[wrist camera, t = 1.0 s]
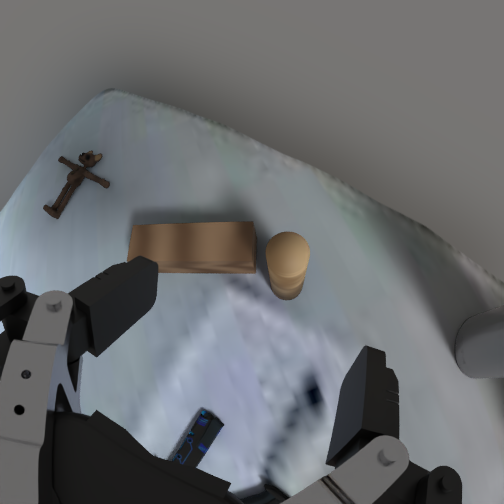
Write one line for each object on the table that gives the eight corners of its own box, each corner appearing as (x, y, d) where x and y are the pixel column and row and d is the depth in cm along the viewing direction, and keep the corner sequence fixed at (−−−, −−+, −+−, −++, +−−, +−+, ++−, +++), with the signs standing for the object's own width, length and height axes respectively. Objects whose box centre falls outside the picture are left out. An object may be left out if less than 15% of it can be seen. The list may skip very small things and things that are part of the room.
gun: (182, 376, 37) (114, 437, 34) (174, 377, 34) (103, 440, 32) (310, 496, 29) (229, 550, 26) (311, 504, 26) (225, 559, 23)
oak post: (302, 269, 39) (309, 231, 28) (302, 300, 38) (310, 273, 27) (271, 269, 40) (265, 231, 28) (270, 300, 38) (265, 273, 27)
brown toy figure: (26, 195, 47) (65, 134, 49) (39, 203, 51) (77, 144, 53) (69, 231, 42) (117, 156, 45) (84, 239, 46) (129, 168, 49)
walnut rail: (256, 237, 41) (253, 221, 37) (255, 273, 40) (251, 261, 35) (147, 239, 43) (133, 225, 38) (142, 272, 41) (126, 260, 37)
